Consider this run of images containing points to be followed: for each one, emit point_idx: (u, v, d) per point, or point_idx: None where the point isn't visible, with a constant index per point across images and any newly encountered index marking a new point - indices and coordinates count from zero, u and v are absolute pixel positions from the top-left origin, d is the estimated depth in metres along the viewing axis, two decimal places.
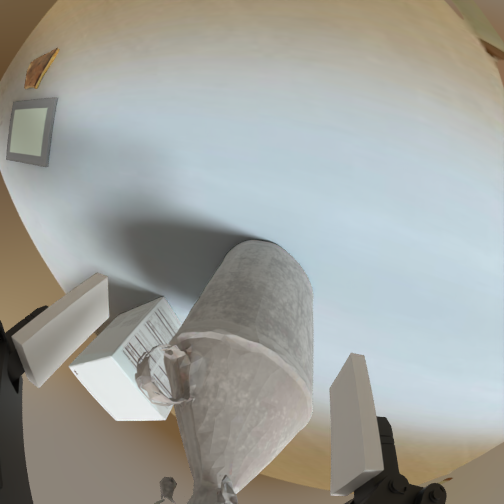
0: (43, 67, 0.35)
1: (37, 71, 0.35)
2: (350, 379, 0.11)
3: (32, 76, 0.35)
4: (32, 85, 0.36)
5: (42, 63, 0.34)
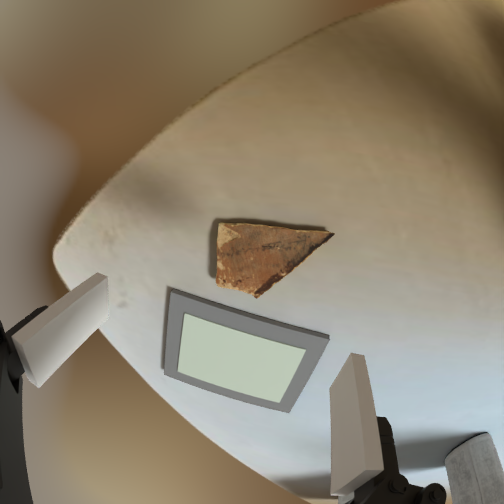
0: (289, 264, 0.26)
1: (266, 265, 0.27)
2: (350, 379, 0.11)
3: (246, 269, 0.27)
4: (248, 290, 0.28)
5: (281, 252, 0.26)
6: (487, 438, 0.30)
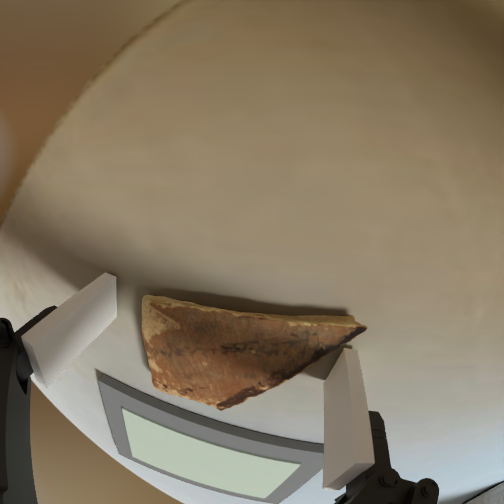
0: (274, 376, 0.13)
1: (231, 375, 0.13)
2: (343, 373, 0.12)
3: (197, 377, 0.14)
4: (206, 401, 0.15)
5: (260, 359, 0.13)
6: None
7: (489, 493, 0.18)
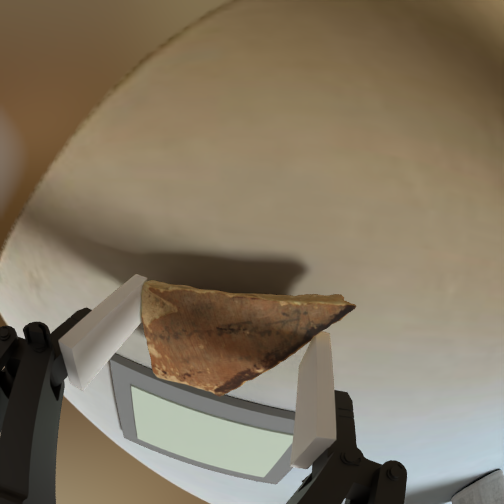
0: (269, 357, 0.14)
1: (227, 357, 0.14)
2: (313, 353, 0.12)
3: (195, 361, 0.14)
4: (204, 387, 0.15)
5: (254, 340, 0.13)
6: (499, 476, 0.20)
7: (484, 480, 0.22)
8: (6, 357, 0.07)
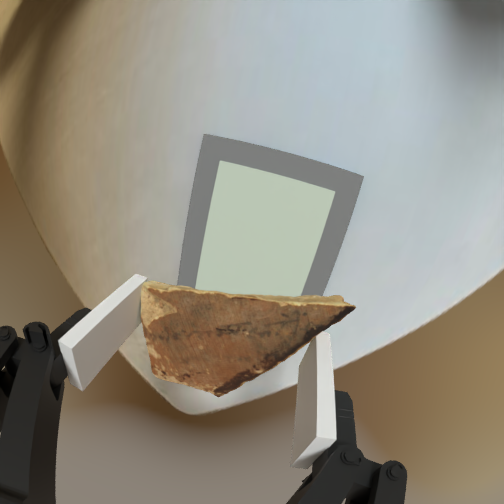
0: (268, 358, 0.14)
1: (226, 358, 0.14)
2: (313, 354, 0.12)
3: (194, 362, 0.14)
4: (204, 387, 0.15)
5: (253, 340, 0.13)
6: None
7: None
8: (6, 357, 0.07)
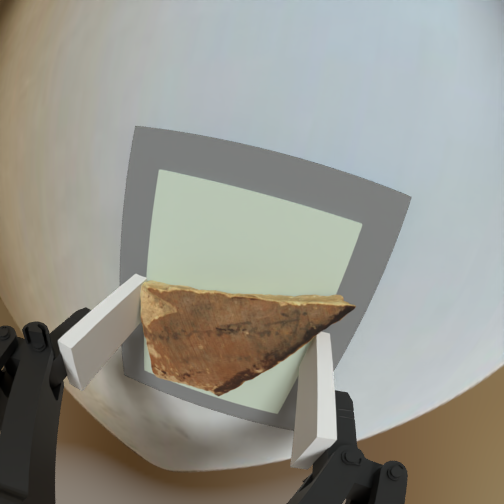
0: (268, 357, 0.14)
1: (226, 357, 0.14)
2: (314, 354, 0.12)
3: (194, 361, 0.14)
4: (204, 387, 0.15)
5: (253, 340, 0.13)
6: None
7: None
8: (5, 357, 0.07)
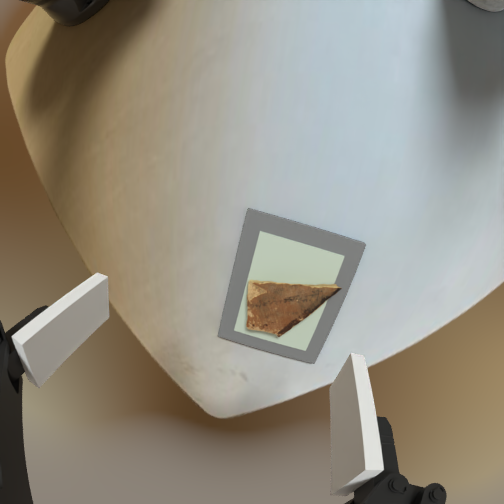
0: (305, 312, 0.32)
1: (287, 313, 0.33)
2: (350, 379, 0.11)
3: (271, 316, 0.33)
4: (273, 331, 0.34)
5: (299, 303, 0.32)
6: None
7: None
8: None
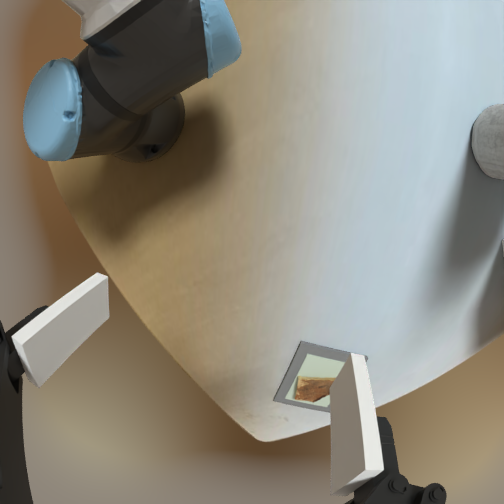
0: None
1: (319, 392, 0.51)
2: (350, 379, 0.11)
3: (310, 394, 0.51)
4: (310, 400, 0.52)
5: (327, 388, 0.50)
6: (477, 129, 0.30)
7: (476, 153, 0.32)
8: None
